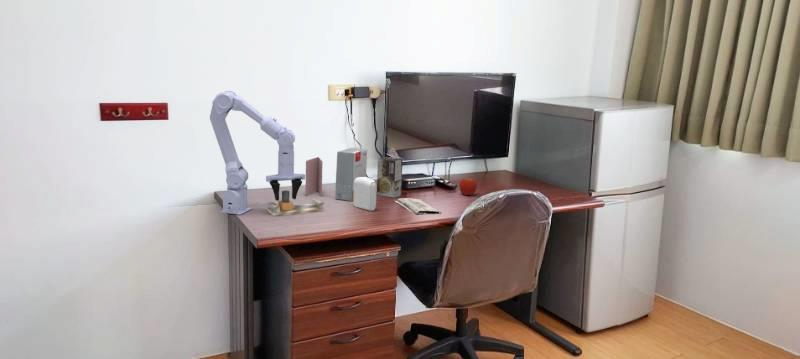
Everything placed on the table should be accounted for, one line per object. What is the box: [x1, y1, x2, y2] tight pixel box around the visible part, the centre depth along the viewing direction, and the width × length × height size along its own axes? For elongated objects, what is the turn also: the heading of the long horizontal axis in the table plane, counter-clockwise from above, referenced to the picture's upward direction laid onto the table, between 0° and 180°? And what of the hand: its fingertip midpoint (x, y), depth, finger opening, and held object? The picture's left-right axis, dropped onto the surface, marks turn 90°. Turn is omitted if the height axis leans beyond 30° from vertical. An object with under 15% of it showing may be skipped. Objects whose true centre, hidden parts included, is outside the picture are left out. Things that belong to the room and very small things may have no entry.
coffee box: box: [376, 156, 403, 198], centre depth 272 cm, size 9×6×16 cm
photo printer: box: [352, 176, 377, 211], centre depth 248 cm, size 10×4×12 cm, turn 47°
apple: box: [459, 178, 478, 196], centre depth 281 cm, size 8×8×8 cm
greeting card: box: [304, 156, 324, 198], centre depth 267 cm, size 11×7×15 cm, turn 161°
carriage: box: [277, 190, 294, 211], centre depth 236 cm, size 4×4×7 cm
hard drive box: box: [334, 147, 368, 202], centre depth 265 cm, size 16×8×20 cm, turn 161°
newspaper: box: [394, 197, 442, 215], centre depth 254 cm, size 23×12×2 cm, turn 19°
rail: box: [266, 198, 325, 217], centre depth 239 cm, size 20×7×4 cm, turn 121°
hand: (285, 199), depth 236 cm, fingers open, 6 cm apart
